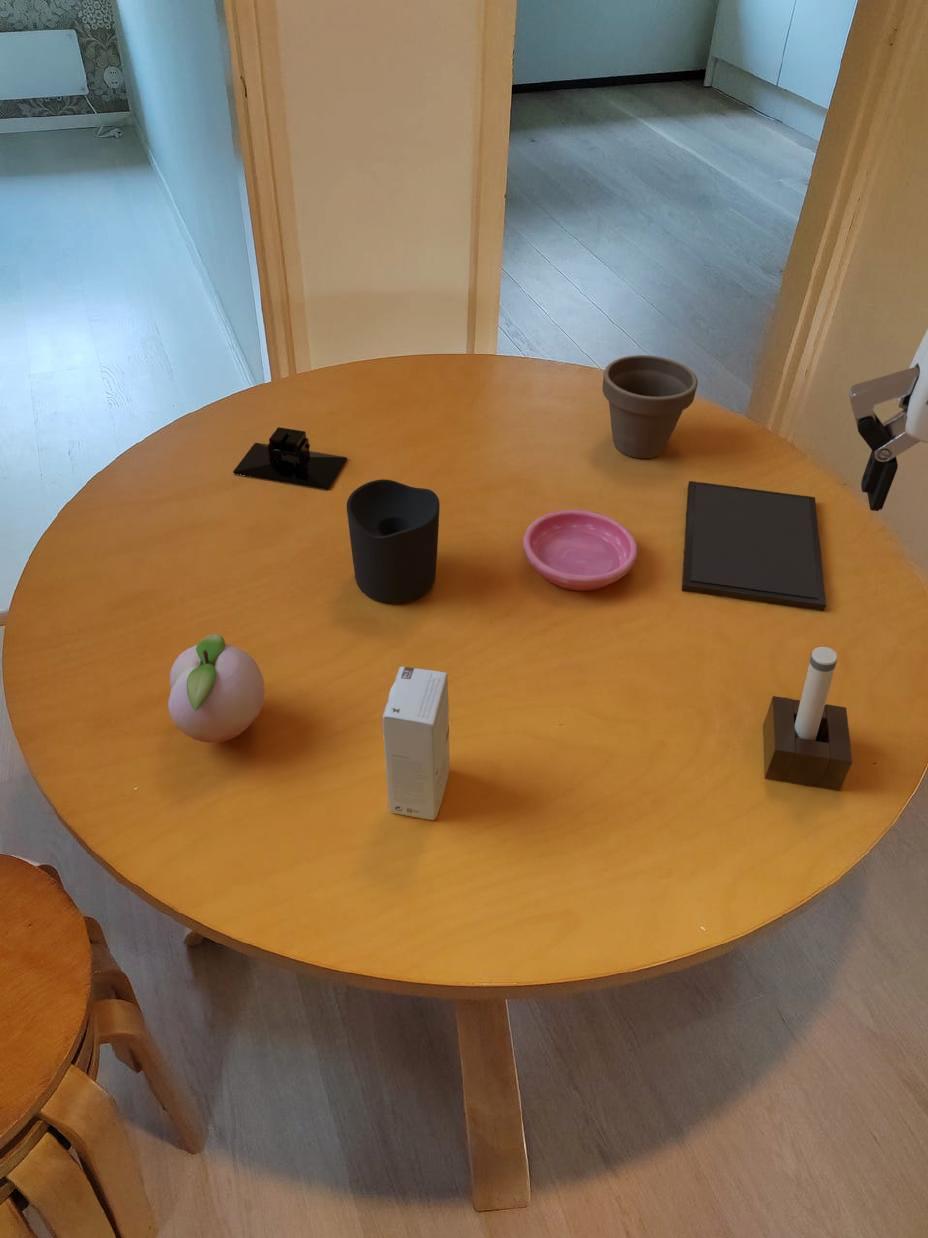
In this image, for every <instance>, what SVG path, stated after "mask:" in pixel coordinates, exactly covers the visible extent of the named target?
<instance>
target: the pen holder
mask: <svg viewBox="0 0 928 1238" xmlns="http://www.w3.org/2000/svg"><path fill="white" fill-rule="evenodd" d="M440 504H441V503H440V499H439V497H438V495H437V493H435V492H434V491H433V490H432V489H428V488H422V487H414V486H409V485H407V484H404V483H401V482H398V481H397V480H392V479H383V478H381V479H375V480H371V481H369V482H365V483H364V484H362V485H360V486H358V487H357V488H356V489H354V490H353V491H352V492H351V493H350V495H349V496H348V498H347V500H346V514H347V522H348V523H347V524H348V531H349V540H350V548H351V556H352V557H351V558H352V564H353V571H354V576H355V583H356V585H357V587H358V588H359V590H360V591H361V593H363V594H364V595H365V596H367V597H368V598H370V599H372V600H374V601H376V602H379V603H383V604H390V605H397V604H398V605H400V604H406V603H411V602H413V601H416V600H418V599H420V598H422V597H423V596H425V595H426V594H428V592H429V591H430V590H431V589H432V588H433V586H434V584H435V581H436V575H437V564H438V563H437V561H438V546H439V545H438V543H439V527H440V525H439V523H440V506H441V505H440Z"/></svg>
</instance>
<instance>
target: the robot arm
mask: <svg viewBox="0 0 928 1238" xmlns="http://www.w3.org/2000/svg"><path fill="white" fill-rule="evenodd" d="M922 337H923V338H922V339H921V341H920V343H919V346H918V348H917V350H916V352H915V354H914V356H913V359H912V361H911V363H910V364H909V367H908V368H907V369H903V370H900V371H897V372H893V373H890V374H887V375H883V376H880V377H876V378H873V379H869V380H865V381H863V382H859V383H856V384H853V385H851V387H849V390H848V394H849V395H848V396H849V401H850V406H851V408H852V413H853V416H854V420H855V423H856V428H857V433H858V434H859V436H861V438H862V439H863V441H864V442H865V444H866V445H867V446H868V447H869V449H871V452H870V454H869V457H868V460H867V463H866V466H865V468H864V471H863V475H862V478H861V481H860V482H861V483H860V487H861V492H862V493H866V494H867V500H868V505H869V510H870V511H874V512H879V511H880V510H883V507H884V505H885V503H886V500H887V497H888V494H889V492H890V490H891V487H892V484H893V482H894V479H895V476H896V474H897V471H898V468H899V467H898V466H899V465H898V464H899V463H898V458H897V457H898V456H899V455H901V454H902V453H904V452H906V451H907V450H909V449H911V448H912V447H913V446H915V445H917V444H918V443H920V442H921V443H925V444H928V328H927V329H926V331H925V333H924V335H923V336H922ZM895 399H897V401H898V408H899V409H902V410H901V411H899V412H897V413H896V414H894V415H893V416H891V417H890V418H888V419H887V420H885V421H883V422H882V421H881V419H880V418H879V417H878V416H877V414H876V413H875V410H874V409H875V407H876V406H877V405H878V404H879V405H880V404H882V403H886V402H889V401H892V400H895Z"/></svg>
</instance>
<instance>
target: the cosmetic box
mask: <svg viewBox="0 0 928 1238" xmlns="http://www.w3.org/2000/svg"><path fill="white" fill-rule="evenodd" d="M448 676H449V673H448V672H445V671H439V670H433V669H432V670H431V669H424V668H416V667H409V666H399V668H398V671H397V673H396V676H395V679H394V682H393V684H392V686H391V688H390V690H389V694H388V699H387V702H386V705H385V707H384V711H383V713H382V733H383V734H382V735H383V746H384V757H385V758H384V759H385V773H386V786H387V787H386V789H387V799H388V800H387V801H388V811H389V813H391V814H397V815H400V816H401V815H402V816H404V817H412V818H417V819H422V820H427V821H434V820H436V818H437V817H438V814H439V811H440V808H441V805H442V802H443V798H444V796H445V791H446V787H447V784H448V779H449V774H450V768H451V766H450V763H451V762H450V715H449V714H450V711H449V709H450V708H449V707H450V705H449V687H448V686H449V683H448V681H449V679H448Z"/></svg>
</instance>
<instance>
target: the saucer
mask: <svg viewBox="0 0 928 1238" xmlns="http://www.w3.org/2000/svg"><path fill="white" fill-rule="evenodd" d="M522 550H523V554H524V556H525V558H526V560H527V562H528V563H529V564H530V566H531V567H532V568H533V569H534V570H535V571H536V573H538V574H539V575H541V576H542V577H543V578H544V579H545V580H547V581H548V582H549V583H551V584H553V585H555V586H557V587H560V588H563V589H565V590H566V589H567V590H572V591H593V590H598V589H602V588H605V587H606V586H608V585H611V584H613V583H615V582H617V581H618V580H620V579H621V578H623V577H624V576H626V575H627V574H628V573H629V572H630V571H631V570H632V568H633V567H634V566H635V563H636V560H637V556H638V545H637V541H636V539H635V537H634V535H633V534H632V533H631V531H630V530H629V529H628V528H626V526H624V525H623V524H621V523H620V522H619V521H617V520H615V519H613V518H612V517H610V516H607V515H605V514H602V513H598V512H595V511H590V510H585V509H562V510H556V511H552V512H549V513H546V514H544V515H542V516H540V517H538V518H537V519H535V520H534V521H532V522H531V523H530V524H529V526H528V527H527V528H526V530H525V532H524V534H523V540H522Z"/></svg>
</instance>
